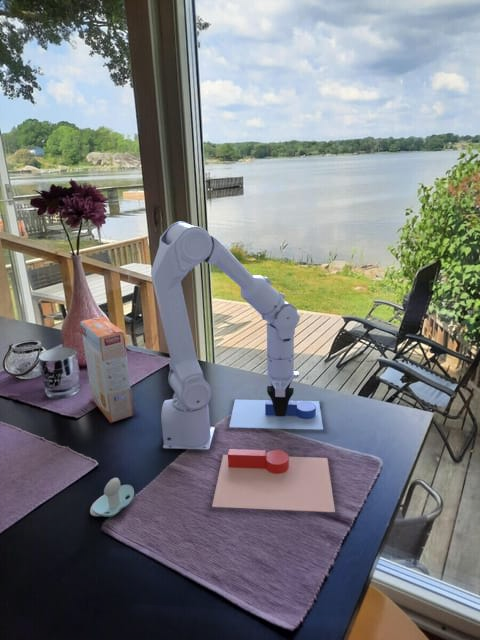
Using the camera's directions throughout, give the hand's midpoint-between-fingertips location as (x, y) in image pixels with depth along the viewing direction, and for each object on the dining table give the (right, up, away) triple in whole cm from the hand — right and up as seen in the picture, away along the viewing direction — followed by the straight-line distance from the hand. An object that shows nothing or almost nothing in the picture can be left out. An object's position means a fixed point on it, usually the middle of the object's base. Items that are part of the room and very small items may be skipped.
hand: (280, 409), depth 99 cm
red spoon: (-6, -7, -17) cm, 19 cm away
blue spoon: (+2, -1, 0) cm, 2 cm away
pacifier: (-31, -11, -25) cm, 41 cm away
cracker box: (-40, -1, +6) cm, 40 cm away
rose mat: (-3, -9, -21) cm, 23 cm away
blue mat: (-1, -1, +1) cm, 2 cm away
